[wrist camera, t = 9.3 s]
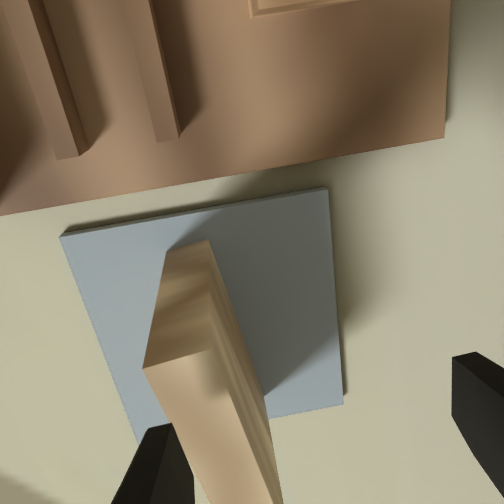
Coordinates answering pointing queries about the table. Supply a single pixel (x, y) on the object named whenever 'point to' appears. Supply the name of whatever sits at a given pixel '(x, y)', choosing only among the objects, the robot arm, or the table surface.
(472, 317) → the table surface
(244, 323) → the slate mat
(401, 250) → the table surface
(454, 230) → the table surface
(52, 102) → the walnut rack
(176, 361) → the plywood sheet
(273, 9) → the block
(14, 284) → the table surface
